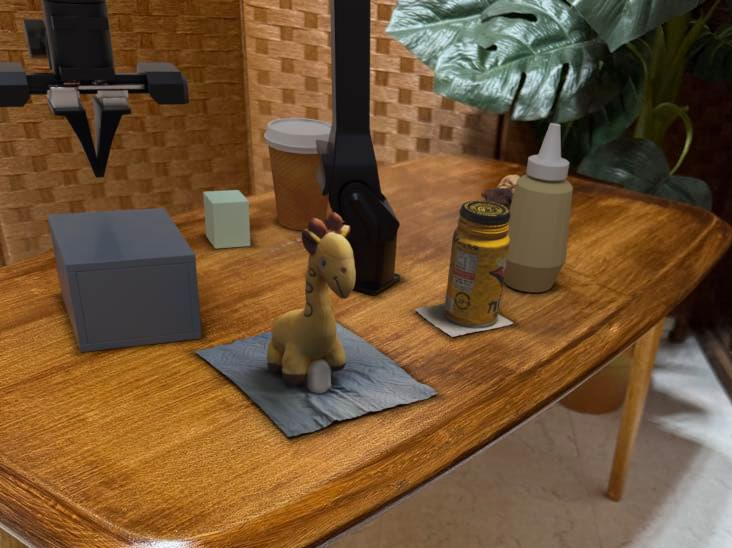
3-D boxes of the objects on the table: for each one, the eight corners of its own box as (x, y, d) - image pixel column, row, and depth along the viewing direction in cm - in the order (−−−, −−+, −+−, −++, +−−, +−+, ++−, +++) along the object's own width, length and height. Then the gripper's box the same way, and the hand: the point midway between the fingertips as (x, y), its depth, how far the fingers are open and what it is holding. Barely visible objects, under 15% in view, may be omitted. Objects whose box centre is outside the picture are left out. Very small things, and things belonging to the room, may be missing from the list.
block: (240, 233, 109) (238, 189, 105) (250, 246, 106) (249, 201, 102) (205, 236, 107) (202, 191, 104) (215, 248, 104) (212, 203, 101)
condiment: (513, 324, 93) (532, 214, 86) (452, 338, 89) (466, 224, 82) (474, 300, 98) (488, 193, 91) (413, 312, 94) (423, 201, 87)
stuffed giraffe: (288, 438, 71) (290, 247, 62) (195, 357, 82) (185, 185, 73) (436, 400, 80) (458, 227, 70) (333, 331, 91) (340, 174, 82)
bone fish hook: (538, 239, 117) (552, 199, 131) (545, 205, 114) (559, 168, 128) (473, 226, 119) (494, 188, 132) (478, 192, 116) (499, 157, 129)
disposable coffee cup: (350, 222, 115) (354, 127, 108) (308, 240, 109) (308, 140, 101) (295, 206, 119) (295, 113, 111) (251, 222, 112) (247, 124, 105)
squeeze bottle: (573, 287, 103) (606, 128, 92) (534, 303, 99) (564, 137, 87) (520, 267, 107) (546, 112, 96) (481, 281, 103) (503, 120, 91)
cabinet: (62, 296, 90) (47, 214, 85) (171, 286, 94) (164, 207, 89) (80, 352, 81) (65, 264, 75) (201, 338, 85) (195, 254, 79)
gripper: (158, -10, 87) (172, 151, 97) (-42, -17, 80) (-5, 158, 90) (183, 7, 79) (196, 181, 89) (-36, 1, 72) (4, 190, 82)
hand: (99, 176), depth 88 cm, fingers closed
